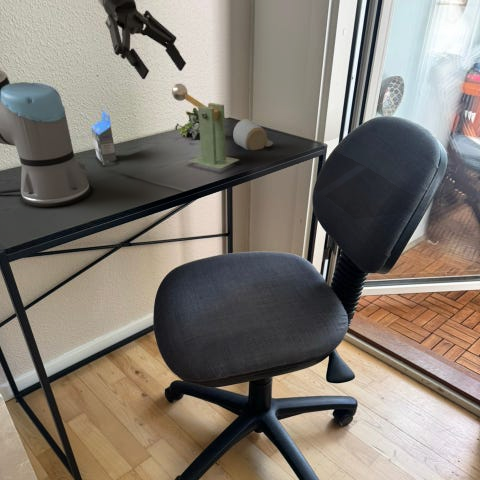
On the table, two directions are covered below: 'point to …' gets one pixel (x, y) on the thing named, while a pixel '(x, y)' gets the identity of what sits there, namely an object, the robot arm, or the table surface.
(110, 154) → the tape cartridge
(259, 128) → the ceramic mug
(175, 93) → the lever
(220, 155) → the bracket
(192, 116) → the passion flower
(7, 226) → the table surface
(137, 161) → the table surface
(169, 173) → the table surface
